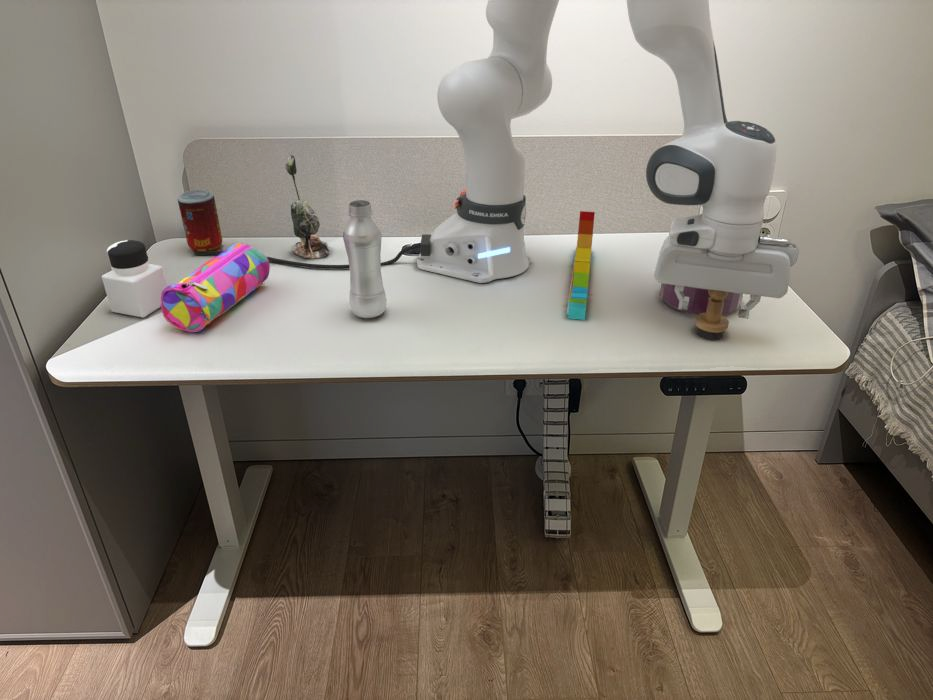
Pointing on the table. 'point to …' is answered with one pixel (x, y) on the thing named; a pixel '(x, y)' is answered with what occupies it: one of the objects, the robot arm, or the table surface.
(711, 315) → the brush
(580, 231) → the chart
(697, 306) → the bowl
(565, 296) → the table surface
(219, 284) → the pencil case
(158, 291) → the medicine bottle
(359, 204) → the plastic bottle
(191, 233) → the soda can
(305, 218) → the plant with pod
